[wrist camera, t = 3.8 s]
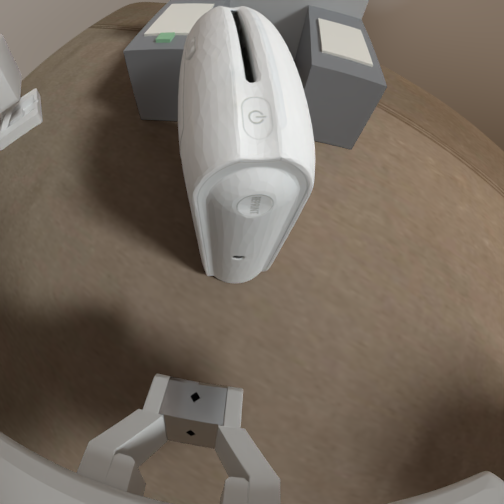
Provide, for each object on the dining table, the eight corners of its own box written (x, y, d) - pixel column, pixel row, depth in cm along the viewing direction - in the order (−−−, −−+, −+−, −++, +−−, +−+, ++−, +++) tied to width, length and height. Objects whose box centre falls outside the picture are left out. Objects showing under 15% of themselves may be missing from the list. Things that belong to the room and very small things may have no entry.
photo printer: (275, 282, 17) (365, 148, 6) (202, 289, 17) (160, 153, 5) (253, 144, 21) (279, -12, 9) (194, 148, 20) (183, -12, 9)
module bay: (141, 119, 21) (110, -11, 9) (183, 43, 25) (180, -52, 14) (351, 149, 21) (418, 28, 10) (340, 65, 26) (373, -25, 14)
